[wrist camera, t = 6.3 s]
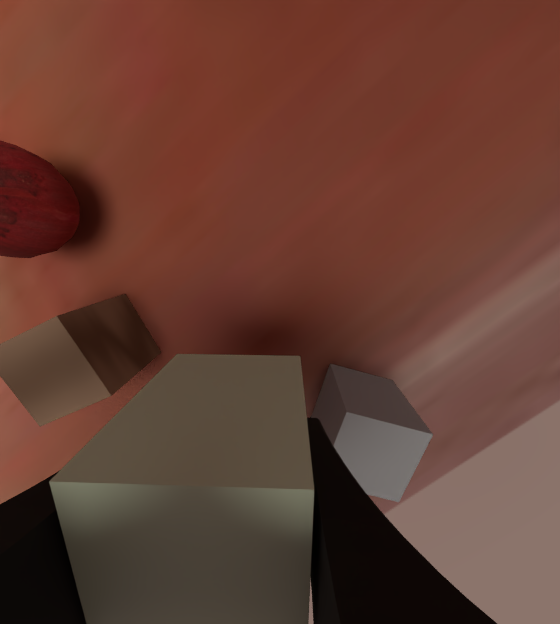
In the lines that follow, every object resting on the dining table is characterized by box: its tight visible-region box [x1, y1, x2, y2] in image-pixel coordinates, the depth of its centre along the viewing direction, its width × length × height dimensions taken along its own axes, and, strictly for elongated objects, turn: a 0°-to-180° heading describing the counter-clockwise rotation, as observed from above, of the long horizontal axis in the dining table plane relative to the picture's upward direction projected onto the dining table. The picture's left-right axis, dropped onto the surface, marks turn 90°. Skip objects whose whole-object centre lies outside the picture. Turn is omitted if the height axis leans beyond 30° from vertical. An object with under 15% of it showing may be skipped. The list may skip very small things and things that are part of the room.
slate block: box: [311, 364, 433, 502], centre depth 18 cm, size 5×5×6 cm
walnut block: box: [0, 294, 161, 426], centre depth 17 cm, size 5×5×6 cm
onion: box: [0, 141, 80, 258], centre depth 14 cm, size 6×6×8 cm
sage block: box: [49, 354, 314, 624], centre depth 9 cm, size 5×5×6 cm
